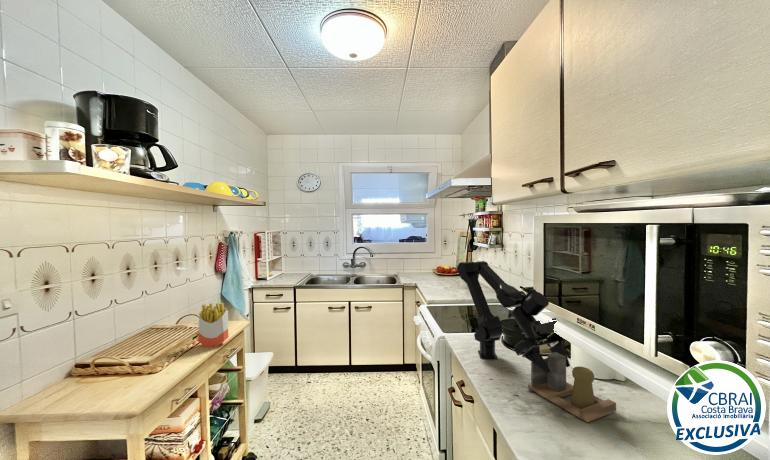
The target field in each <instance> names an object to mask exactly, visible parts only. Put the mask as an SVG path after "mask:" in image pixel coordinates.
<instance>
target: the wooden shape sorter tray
mask: <svg viewBox="0 0 770 460" xmlns="http://www.w3.org/2000/svg"><path fill="white" fill-rule="evenodd" d="M543 359H544V360H545V362H546V364H547V365H548V367H549V369H550V372H549V373H547V372H545V371H544V370H543V369H541V368H540V367H539V366H537V365H536V364H534V363H533V362H531V361H530V370H531V371H530V374H531V375H530V382H529V383H527V389H529V390H530V391H533V392H534V393H536V394H538V395H539V396H542V397H543V398H545V399H546V400H548V401H550V402H552V403H553V404H555V405H556V406H558V407H560V408H562V409H564V410H565V411H566V412H569V413H570V414H572V415H574V416H576V417H577V418H579V419H581V420H582V421H584V422H585V423H590V422H593V421H595V420H597V419H600V418H602V417H604V416H607V415H610V414H611V413H614V412H616V411H617V402H615V401H613V400H611V399H609V398H607V399H602V398H600V397H598V396H596V395H594V400H595V404H594V405H591V406H588V407H586V408H583V409H579V408H577V407H576V406H574V405H572V404H571V402H568V401H566V400H565V399H563V397H566V396H569V395H572V392H573V385H574V384H571V383H569V382H568V381H567V367H566V356H563V355H561V354H558V353H556V352H554V353H552V352H551V353H548V354H547V357H546V358H545V357H544V358H543Z"/></svg>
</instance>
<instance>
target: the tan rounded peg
mask: <svg viewBox="0 0 770 460" xmlns="http://www.w3.org/2000/svg"><path fill="white" fill-rule="evenodd" d="M571 374H572V377H573V379H574V381H573V384H572V385H573V392H572V394H571V397H570V398H571V400H570V404H572V405H574V406H576V407H577V408H579V409H583V408H586V407H588V406H591V405H594V404H595V400H594V396H595V395H594V394H595V392H594V387H593V383H594V381H595V374H594V372H593V371H592V370H591V369H590V368H589V367H588V368H587V367H585V366H574V367H573V368H572V371H571Z"/></svg>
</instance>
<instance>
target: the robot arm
mask: <svg viewBox="0 0 770 460" xmlns="http://www.w3.org/2000/svg"><path fill="white" fill-rule="evenodd" d="M456 269H457V270H456V271H457V273H458V275H459V277H460V279H461V280H462V281H463V282H465V284H466V285H467V288H468V291H469V293H470V297H471V299H472V301H473V304H474V307H475V310H476V312H477V315H478V321H477V327H478V330H477V331H476V332H474V334H473V336H474V337H473V338H474V340H475V341H477V342H479V350H477V353H478V356H479V358H480V359H489V360H498V359H499V358H498V355H497V354H496V341H500V340H501V337H502V334H503V331H504V329H503V324H502V323H501V320H500V317H499V316H498V315H497V316H495V315H494V314H492V312H491V309H490V307H489V304H488V302H487V299H486V297H485V294H484V291H483V288H482V286H481V283H480V281H479V278H480V277H479V276H481V278H482V279H483V280H484V281H485V282H486V283H487V284H488V285H489V286H490V288H492V290H493V291H494V293H495V296H496V299H497V300H498V303H500V305H501V306H502V307H504V308H505V309H509V308H513V309H511V310H510V309H509V310H508V315H507V318H508V319H514V320H515V322H516V323H517V326H519V328H520V330H519V333H520V334H521V335H523V334H524V335H525V337H526V338H522V339H521V340H520V341H518V342H517V343H516V344H515V345H514V352H515V354H516V355H517V356H522V358H525V359H526V360H529V361H530V363H531V362H533V363H534V364H536V365H537V366H539V367H540V368H541V369H543V370H544V371H545V372H547V373H549V372H550V369H549V367H548V365H547V364H546V362H545V360H544V359H545V358H543V356H542V354H541V351H540V350H541V349H540V347H542V346H548V347H549V349H548V350H549V351H550V352H551V353H554V352H556V353H558V354H561V355H563V356H566V368H569V367H571V364H570V361H569V359H568V355H567V352H566V348H565V346H566V345H565V344H566V342H568V341H567V340H568V339H566V340H565V339H563V338H562V337H560V336H559V335H557V334H556V333H554V330H553V329H554V324H555V323H556V322H557V321H553V322H549V321H548V322H545V323H543V322H542V323H543V324H541V323H540V321H541V320H540V321H539V320H537V318H535V316H538V315H539V314H541V312H542V311H543V310H545V308H547V307H548V306H549V303H550V302H549V299H548V298H547V297H546V295H545V294H542V293H541V292H539V291H537V290H536V289H535V288H532V289H531V288H530V289H529V290H528V291H527V293H526V294H523V293H522V292H521V291H520V290H518V289H517V288H516V287H514V286H513V285H510V284H508V283H506V281H504V280H503V279H502V277H500V276H499V275H498V274H497V272H496V271H494V270H493V269H492V268H491V266H489V263H488V262H487V261H485V260H481V261H478V260H477V261H474V260H473V261H461V262H459V263H458V265H457V266H456ZM551 319H552V320H556V319H557V318H556V317H553V318H551Z"/></svg>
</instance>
